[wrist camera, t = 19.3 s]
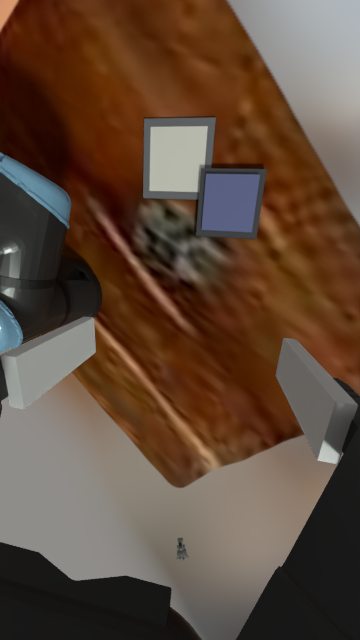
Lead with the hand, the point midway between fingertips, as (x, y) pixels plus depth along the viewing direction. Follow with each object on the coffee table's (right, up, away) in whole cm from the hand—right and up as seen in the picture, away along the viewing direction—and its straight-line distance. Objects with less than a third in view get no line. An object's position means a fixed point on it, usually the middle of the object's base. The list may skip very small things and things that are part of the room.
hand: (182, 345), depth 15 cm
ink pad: (+9, +23, +25) cm, 35 cm away
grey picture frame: (-1, +30, +25) cm, 39 cm away
